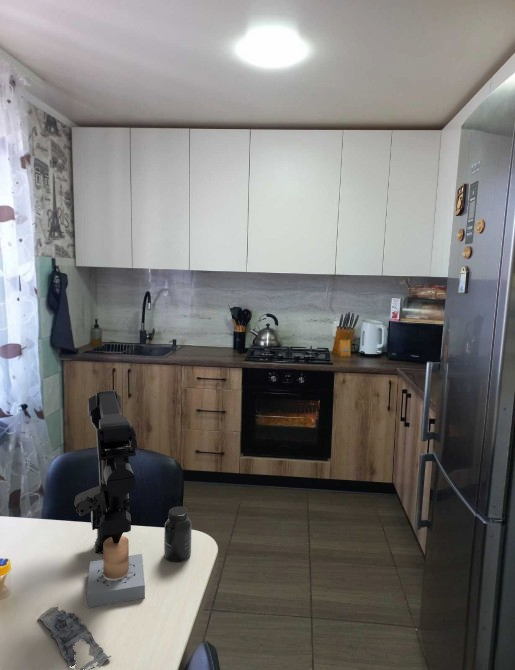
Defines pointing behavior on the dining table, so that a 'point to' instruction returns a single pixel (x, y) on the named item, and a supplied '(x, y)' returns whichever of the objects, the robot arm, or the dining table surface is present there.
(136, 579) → the board
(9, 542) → the dining table surface
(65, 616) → the driftwood
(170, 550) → the supplement bottle
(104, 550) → the peg
